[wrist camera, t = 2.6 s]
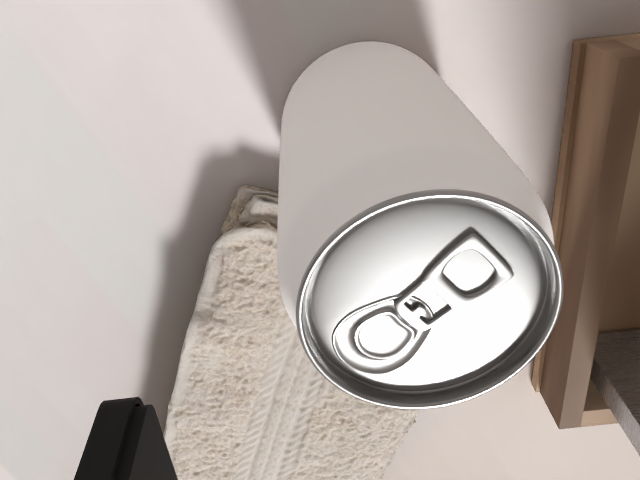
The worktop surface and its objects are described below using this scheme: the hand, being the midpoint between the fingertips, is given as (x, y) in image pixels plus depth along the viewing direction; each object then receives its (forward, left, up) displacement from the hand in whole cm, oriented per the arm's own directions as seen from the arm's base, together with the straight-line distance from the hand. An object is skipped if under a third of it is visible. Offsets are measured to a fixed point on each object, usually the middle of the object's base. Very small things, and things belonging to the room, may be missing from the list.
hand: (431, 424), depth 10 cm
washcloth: (+3, +12, -15) cm, 20 cm away
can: (-1, 0, -15) cm, 15 cm away
